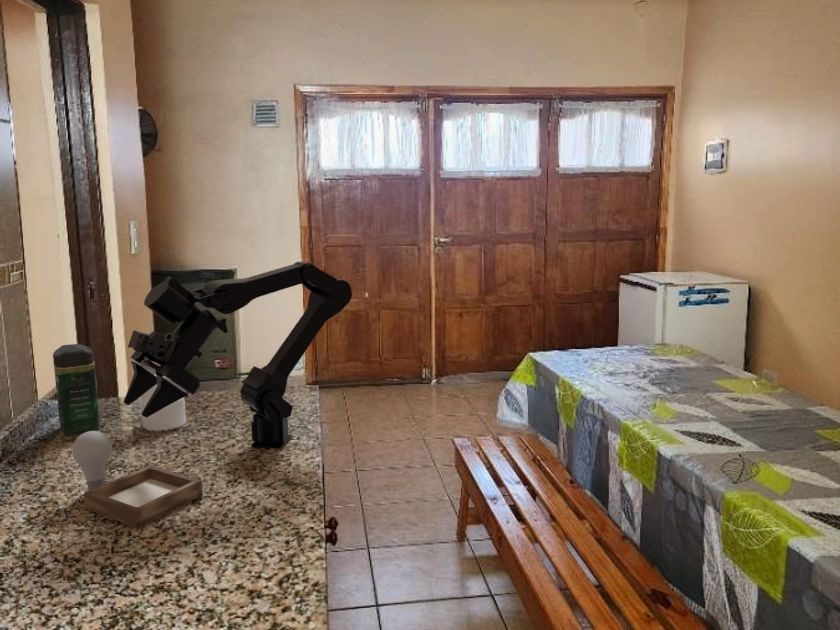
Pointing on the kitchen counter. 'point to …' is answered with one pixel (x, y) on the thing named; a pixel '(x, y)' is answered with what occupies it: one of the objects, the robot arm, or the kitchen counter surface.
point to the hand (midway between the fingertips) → (134, 409)
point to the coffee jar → (76, 389)
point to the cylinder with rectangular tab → (164, 413)
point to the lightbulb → (92, 456)
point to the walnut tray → (143, 495)
